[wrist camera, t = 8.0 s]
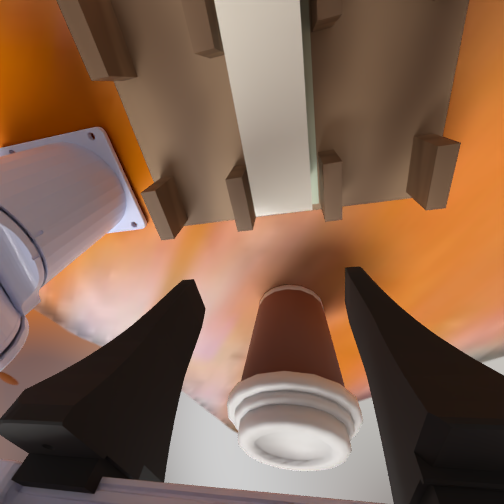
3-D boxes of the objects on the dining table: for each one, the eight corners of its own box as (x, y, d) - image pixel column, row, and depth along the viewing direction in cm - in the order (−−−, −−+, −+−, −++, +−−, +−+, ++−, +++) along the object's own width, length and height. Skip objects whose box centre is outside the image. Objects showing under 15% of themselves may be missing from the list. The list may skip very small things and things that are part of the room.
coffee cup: (353, 286, 23) (402, 437, 13) (318, 345, 28) (335, 486, 18) (256, 263, 23) (232, 399, 13) (239, 327, 28) (212, 459, 18)
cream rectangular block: (263, 185, 18) (255, 216, 14) (231, -10, 13) (203, -55, 8) (306, 179, 17) (312, 209, 13) (291, -28, 12) (294, -85, 8)
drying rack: (176, 221, 22) (156, 247, 18) (91, -1, 14) (31, -27, 11) (424, 190, 18) (455, 214, 15) (482, -135, 10) (571, -235, 7)
